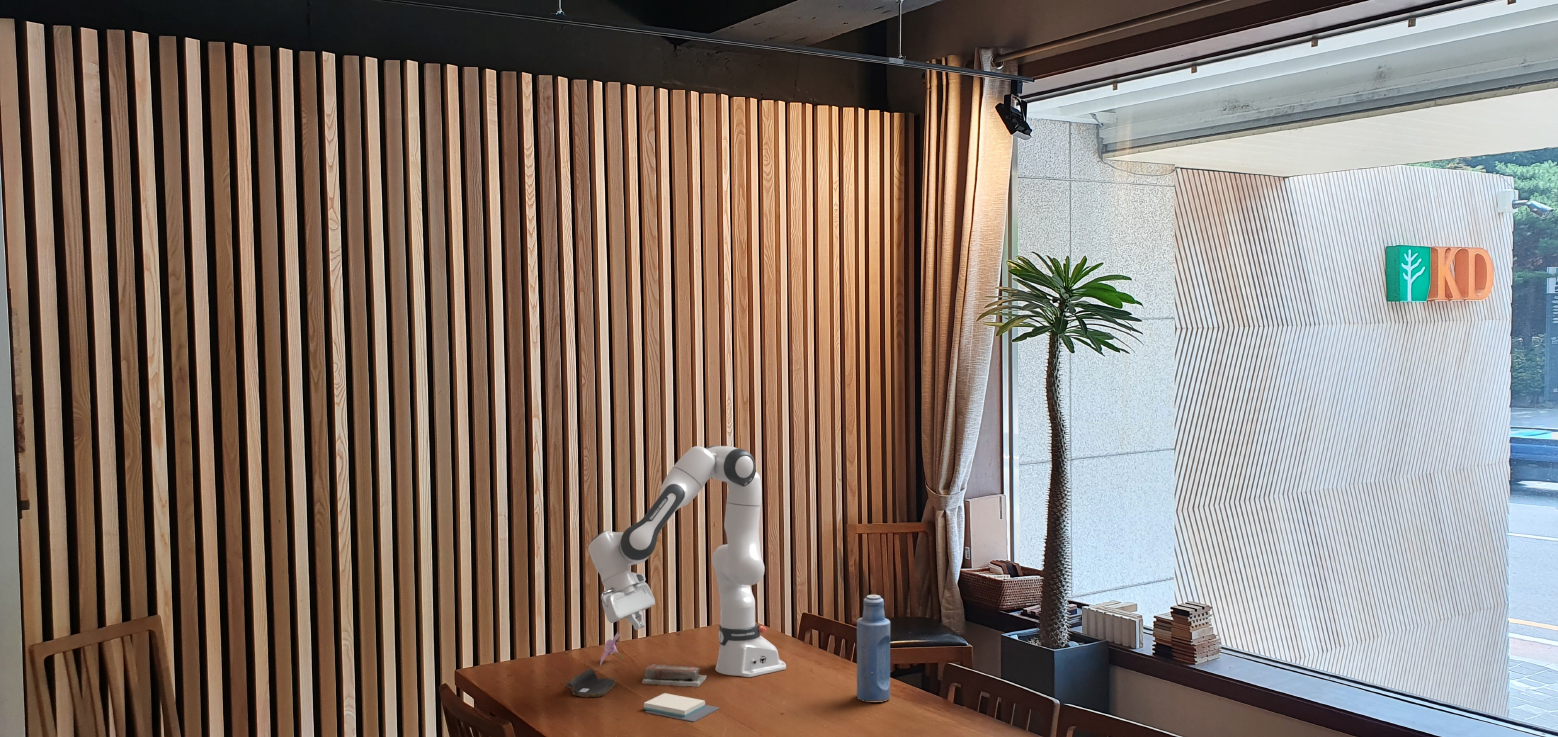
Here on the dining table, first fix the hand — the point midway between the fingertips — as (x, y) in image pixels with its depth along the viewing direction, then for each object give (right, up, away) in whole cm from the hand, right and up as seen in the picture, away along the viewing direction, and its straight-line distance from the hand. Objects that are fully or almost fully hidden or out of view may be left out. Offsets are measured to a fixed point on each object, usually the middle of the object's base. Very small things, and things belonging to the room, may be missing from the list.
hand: (640, 628), depth 318 cm
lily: (-15, -21, +39) cm, 47 cm away
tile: (+5, -20, -5) cm, 21 cm away
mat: (+13, -21, -10) cm, 27 cm away
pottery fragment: (-16, -21, +9) cm, 28 cm away
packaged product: (+8, -21, +18) cm, 29 cm away
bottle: (+68, -21, 0) cm, 71 cm away
